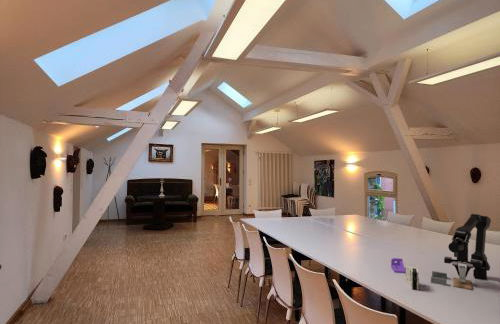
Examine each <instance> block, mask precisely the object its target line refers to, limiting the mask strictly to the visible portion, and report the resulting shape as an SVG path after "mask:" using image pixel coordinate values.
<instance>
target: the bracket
mask: <svg viewBox="0 0 500 324" xmlns="http://www.w3.org/2000/svg"><path fill="white" fill-rule="evenodd" d="M390 267H391V269H392V270H393V272H394V273H396V274H405V275H406V267H405V265H404V262H403V259H402V258H398V257H392V258H391V259H390Z"/></svg>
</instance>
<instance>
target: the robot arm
mask: <svg viewBox="0 0 500 324" xmlns="http://www.w3.org/2000/svg"><path fill="white" fill-rule="evenodd" d="M491 222H492V220H491V218H490V217H489V216H487V215H481V214H477V213H471V214H470V216H469V218H468V219H467V220H466V221H465V223H464V224H463V225H461V226H459V227H457V228H456V229H455V230H454V232H453V235H452V237H451V242H450V243H449V244H448V246H447V247H448V249H449V251H450V252H452V253H453V257H454V258H452V257H451V256H444V258H443V263H444V264H452V266H454V269H455V270H456V273H457V275H458V277H459V264H463V265H466V266H465V268H466V274H465V278H467V276H468V274H469V272H470V270H471V269H472V271H473V273H472V274H473V278H474V279H476V280H482V281H488V272H489V271H490V270H491V265H490V264H489V262H488V257H487V255H486V254H485V248H486V247H485V246H486V237H487V233H486V232H487V229H489V228H490V226H491ZM474 228H476V235H475V236H476V237H475V247H474V248H475V249H474V252H473V253H471V255H470V261H469V243H470V239H471V237H472V231H473V229H474ZM455 258H456V259H455ZM487 271H488V272H487Z"/></svg>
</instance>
